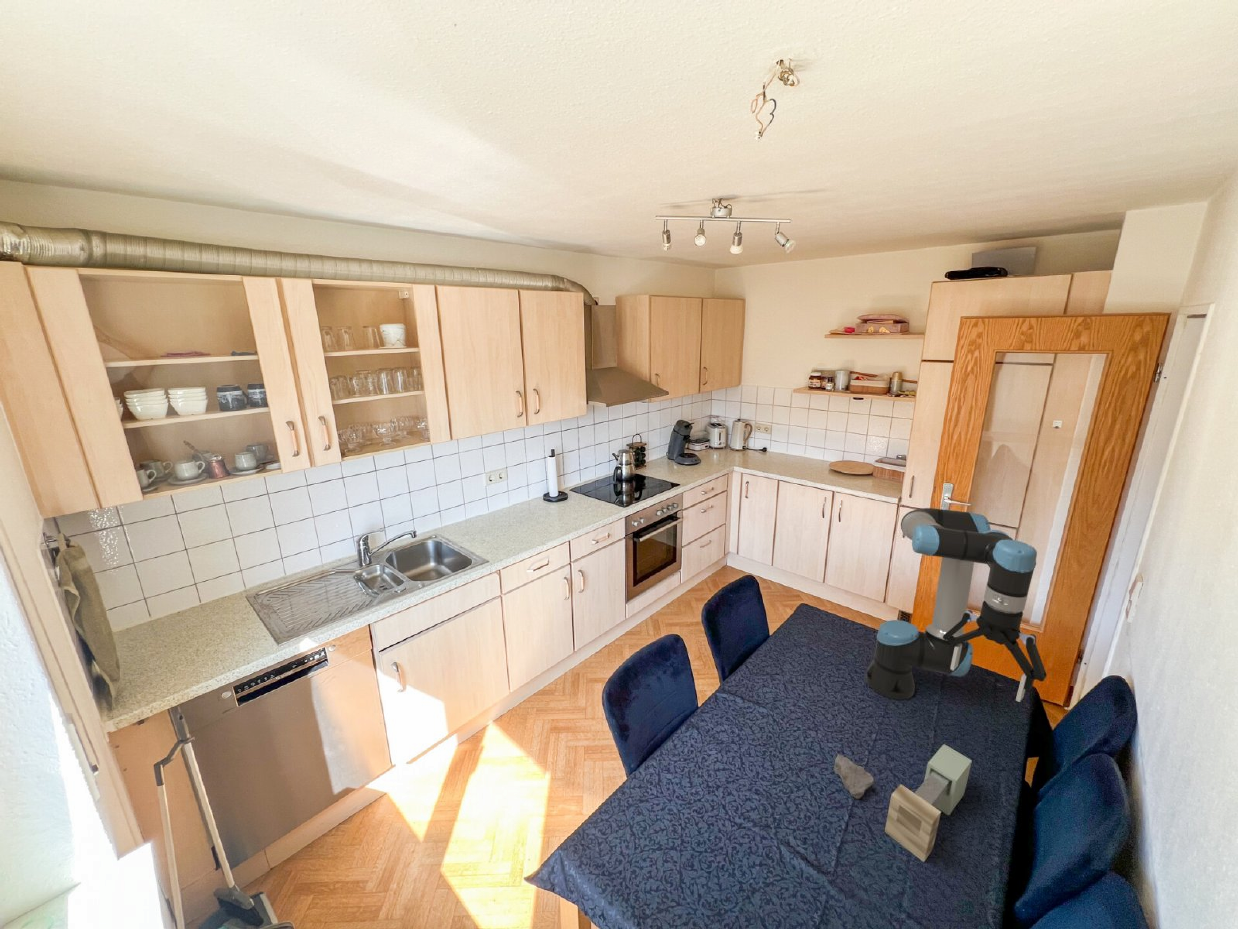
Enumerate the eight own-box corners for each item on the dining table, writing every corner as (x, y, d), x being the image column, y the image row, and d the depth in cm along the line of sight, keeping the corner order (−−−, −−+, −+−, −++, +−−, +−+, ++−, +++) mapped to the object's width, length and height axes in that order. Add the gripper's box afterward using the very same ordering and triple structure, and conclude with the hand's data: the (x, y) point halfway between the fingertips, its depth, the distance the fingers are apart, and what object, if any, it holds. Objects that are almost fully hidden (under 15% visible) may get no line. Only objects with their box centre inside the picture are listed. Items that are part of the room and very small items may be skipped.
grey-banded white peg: (934, 777, 129) (936, 765, 128) (950, 788, 126) (953, 776, 125) (902, 816, 118) (904, 804, 117) (919, 829, 115) (922, 816, 114)
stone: (857, 805, 128) (860, 787, 126) (824, 777, 136) (826, 760, 134) (875, 790, 132) (878, 773, 130) (842, 764, 140) (844, 747, 138)
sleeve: (936, 777, 136) (943, 744, 133) (964, 794, 130) (971, 760, 127) (920, 796, 130) (927, 762, 127) (948, 816, 125) (956, 781, 122)
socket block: (893, 820, 124) (900, 784, 120) (932, 849, 117) (941, 811, 113) (884, 831, 121) (891, 794, 118) (923, 862, 114) (932, 823, 111)
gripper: (937, 588, 121) (923, 661, 127) (1068, 637, 102) (1045, 721, 107) (949, 580, 125) (935, 651, 131) (1078, 625, 106) (1055, 706, 112)
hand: (985, 682), depth 119 cm, fingers open, 13 cm apart
